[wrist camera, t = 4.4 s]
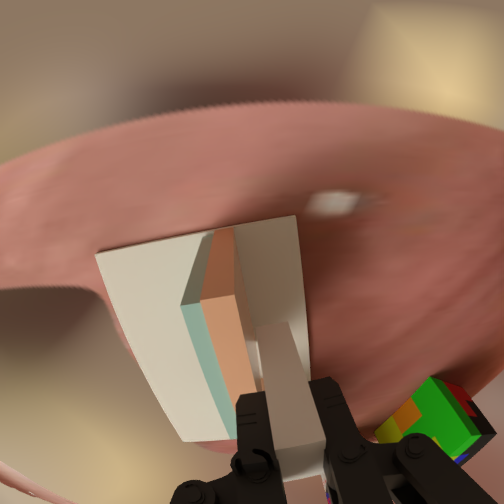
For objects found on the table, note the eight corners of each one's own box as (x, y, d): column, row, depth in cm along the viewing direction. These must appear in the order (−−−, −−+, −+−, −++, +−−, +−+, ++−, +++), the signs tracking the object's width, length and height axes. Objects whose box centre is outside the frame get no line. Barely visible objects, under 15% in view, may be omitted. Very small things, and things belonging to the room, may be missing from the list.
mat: (294, 214, 18) (295, 216, 18) (312, 422, 26) (312, 425, 26) (96, 252, 18) (94, 254, 18) (183, 439, 26) (183, 441, 25)
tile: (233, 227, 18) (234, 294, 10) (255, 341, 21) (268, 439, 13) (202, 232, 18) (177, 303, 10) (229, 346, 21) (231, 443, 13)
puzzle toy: (414, 434, 30) (439, 482, 21) (373, 431, 28) (400, 492, 19) (461, 387, 28) (497, 433, 18) (429, 376, 26) (471, 435, 16)
